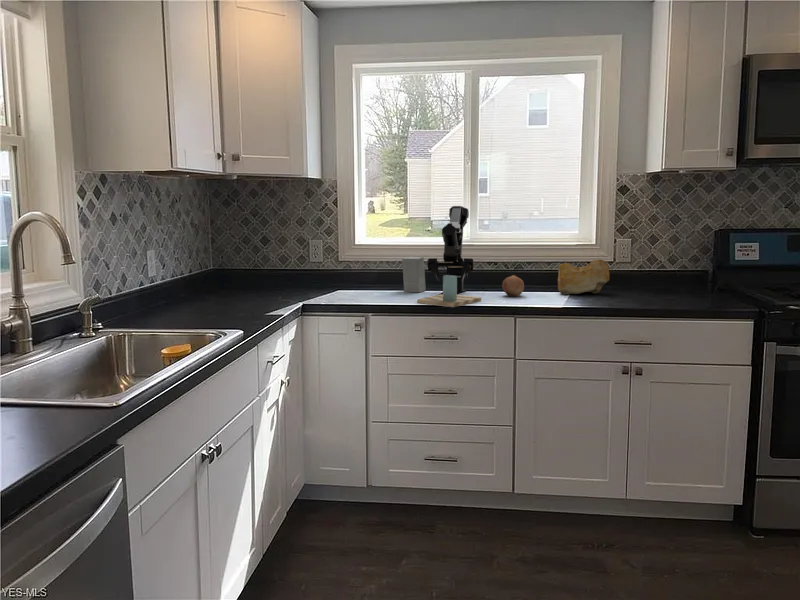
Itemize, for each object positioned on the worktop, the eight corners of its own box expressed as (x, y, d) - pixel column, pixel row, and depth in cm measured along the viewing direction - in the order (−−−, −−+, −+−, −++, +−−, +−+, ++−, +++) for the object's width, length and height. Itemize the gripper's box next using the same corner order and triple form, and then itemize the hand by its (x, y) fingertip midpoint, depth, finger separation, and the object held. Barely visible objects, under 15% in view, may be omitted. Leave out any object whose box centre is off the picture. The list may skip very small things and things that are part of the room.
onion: (512, 301, 295) (515, 280, 298) (527, 298, 287) (530, 276, 290) (496, 295, 290) (499, 273, 293) (510, 291, 283) (513, 269, 285)
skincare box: (425, 291, 306) (425, 256, 304) (417, 293, 300) (417, 258, 298) (410, 289, 311) (410, 256, 308) (402, 291, 305) (401, 257, 302)
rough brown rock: (597, 291, 309) (596, 258, 307) (613, 293, 292) (612, 259, 291) (548, 294, 306) (547, 261, 305) (562, 296, 289) (561, 262, 288)
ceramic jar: (452, 298, 274) (453, 274, 272) (459, 300, 269) (459, 276, 267) (440, 299, 272) (440, 275, 270) (446, 301, 267) (446, 277, 265)
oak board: (446, 296, 290) (446, 293, 289) (481, 300, 278) (481, 297, 278) (417, 302, 275) (417, 299, 274) (452, 307, 263) (452, 303, 263)
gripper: (427, 238, 273) (425, 268, 264) (473, 238, 271) (473, 268, 262) (428, 255, 282) (427, 285, 273) (473, 256, 280) (473, 285, 271)
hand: (449, 281), depth 269 cm, fingers open, 9 cm apart
